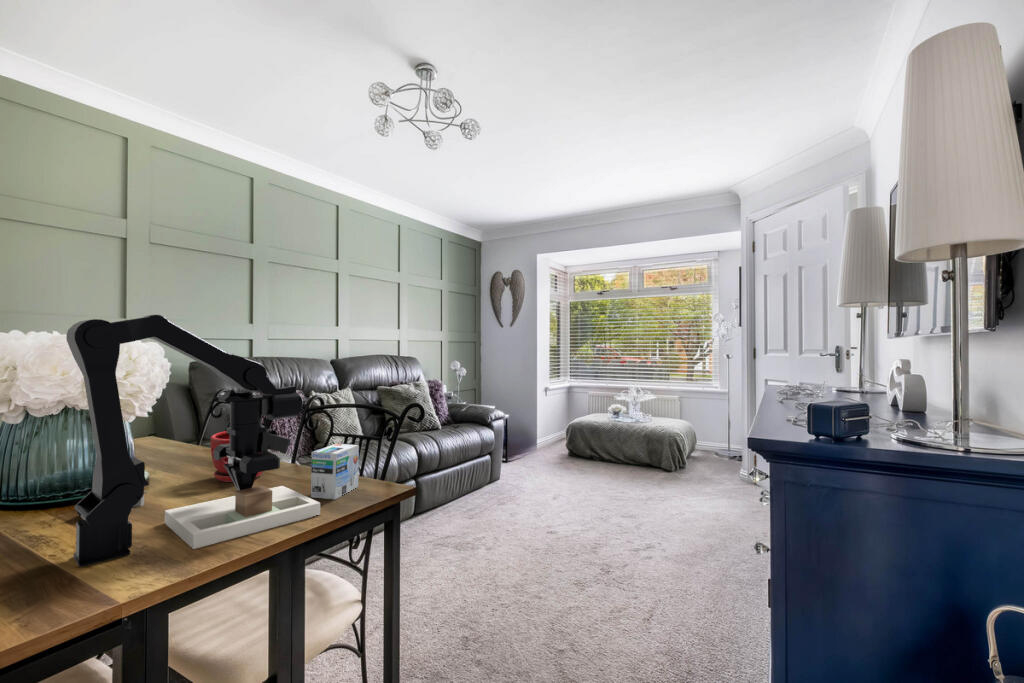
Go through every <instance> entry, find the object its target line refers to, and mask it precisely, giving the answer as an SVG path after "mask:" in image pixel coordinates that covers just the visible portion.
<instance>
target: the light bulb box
mask: <svg viewBox="0 0 1024 683" xmlns="http://www.w3.org/2000/svg"><path fill="white" fill-rule="evenodd" d="M359 451H360V445H359V444H347V443H333V444H331V445H328V446H326V447H323V448H320V449H317V450H314V451H311V462H310V464H311V466H310V467H311V470H310V471H311V472H310V478H311V479H310V480H311V481H310V483H311V484H310V498H312V499H313V498H315V499H327V500H337V499H339V498H341V497H343V496H344V494H345V495H346V493H347V494H348V492H349V493H350V492H352V491H354V490H356V489H358V488H359V458H360V457H359V456H360V452H359ZM357 487H358V488H357ZM355 488H356V489H355ZM353 489H354V490H353ZM351 490H352V491H351ZM342 495H343V496H342Z"/></svg>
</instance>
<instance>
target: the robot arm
mask: <svg viewBox="0 0 1024 683" xmlns="http://www.w3.org/2000/svg"><path fill="white" fill-rule="evenodd" d="M65 337H66V338H65V339H66V342H67V344H68V347H69V349H70V352H71V355H72V357H73V359H74V361H75V363H76V365H77V367H78V369H79V370H80V372H81V374H82V376H83V381H84V382H83V383H84V387H85V394H86V399H87V405H88V406H87V407H88V412H89V417H90V423H91V430H92V431H91V432H92V435H93V441H94V448H95V454H96V456H95V457H96V459H95V462H94V468H93V471H92V472H93V473H92V486H91V491H89V493H87V494H86V495H85V496H84V497H83V498H81V500H79V501H78V502H77V503H76V504H75V506H74V510H75V511H76V513H77V516H79V517H80V518H81V519H82V520H81V519H80V520H77V521H76V522H75V523H76V524H75V526H76V533H75V536H76V537H75V552H74V553H73V558H74V560H75V562H76V564H77V567H79V568H84V567H86V566H90V565H95V564H99V563H103V562H107V561H111V560H115V559H118V558H123V557H126V556H130V555H131V550H130V549H131V548H132V546H133V544H132V543H133V523H132V522H131V521H130V520H129V516H130V513H131V511H133V508H134V507H133V506H134V505H136V504H137V503H138V502H139V500H140V499H141V498H142V497H143V496H145V493H144V492H145V486H149V485H150V484H149V482H148V481H147V479H146V475H145V474H146V473H145V472H146V470H145V469H146V466H145V462H144V461H142V460H141V459H138V458H137V457H135V456H134V457H131V455H130V453H129V449H128V443H127V436H126V431H125V425H124V424H125V422H124V418H123V413H122V412H123V411H122V405H121V401H120V400H121V399H120V395H119V394H120V392H119V386H118V380H117V374H116V373H117V366H118V363H119V357H120V349H121V344H127V343H132V342H135V341H136V342H137V341H141V340H144V339H145V340H146V339H153V340H154V341H157V342H158V343H160V344H162V345H165V346H166V347H168V348H170V349H172V350H174V351H176V352H178V353H180V354H182V355H184V356H186V357H187V358H190V359H192V360H194V361H196V362H198V363H199V364H202V365H203V366H205V367H208V369H210V370H211V371H213V372H214V373H215V374H216V375H217V377H219V379H221V380H222V381H224V382H225V383H227V384H228V385H230V387H233V388H237V389H242V390H248V391H245V392H236V391H235V390H234V389H230V388H229V389H227V390H226V391H225V392H224V394H222V395H221V396H220V397H218V399H217V401H219V402H223V403H227V404H228V403H229V427H226V433H229V434H230V443H229V444H221V445H218V446H217V447H216V448H215V449H214V459H216V460H221V459H222V457H228V464H224V467H225V468H226V470H227V472H228V473H229V475H230V477H231V479H232V481H233V482H232V483H233V485H234V486H235V489H236V491H238V490H243V489H248V488H253V487H254V483H255V480H256V475H257V473H258V472H263V473H264V472H267V471H273V470H279V469H280V468H281V465H280V464H281V458H280V457H279V456H277V455H276V454H274V453H272V452H269V450H270V451H275V452H279V453H280V454H284V455H285V454H287V452H288V449H289V446H290V443H291V442H292V439H291V438H290V437H289V438H288V437H284V436H282V435H278V431H277V429H276V430H275V429H272V428H266V426H264V425H263V416H265V418H267V420H269V421H270V420H271V421H272V420H279V419H287V418H296V417H298V416H299V415H300V413H301V410H302V401H301V398H300V396H299V394H298V392H297V387H296V386H292V385H289V386H283V387H276V386H275V385H274V384H273V382H272V381H271V380H270V379H269V377H268V376H267V375H268V373H267V369H266V367H265V366H264V365H263V364H262V363H261V362H258V361H255V360H251V359H250V358H246V357H243V356H240V355H236V354H233V353H230V352H227V351H225V350H223V349H221V348H219V347H218V346H215V345H214V344H212V343H210V342H208V341H206V340H205V339H202V337H199V336H198V335H196V334H194V333H192V332H191V331H189V330H187V329H184V328H183V327H181V326H179V325H177V324H175V323H173V322H171V321H170V320H169V319H168V318H167V317H165V316H163V315H161V314H149V315H148V314H147V315H145V316H142V317H139V318H138V317H137V318H131V319H126V320H118V321H114V322H113V321H112V322H110V321H109V320H108V321H107V320H104V319H97V318H95V319H94V318H93V319H86V320H81V321H80V320H79V321H78V322H76V323H74V324H72V326H70V328H69V329H68V330H67V332H66V336H65ZM252 392H253V393H259V394H262V395H254V394H253V393H252ZM132 507H133V508H132Z"/></svg>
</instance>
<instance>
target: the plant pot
mask: <svg viewBox="0 0 1024 683" xmlns="http://www.w3.org/2000/svg"><path fill="white" fill-rule="evenodd" d="M229 443H230V434H229V433H226V431H225V430H224V431H221V432H217V433H215V434H213V435H211V437H210V451H211V452H210V453H211V460H212V463H213V465H214V467H215V469H216V471H214V473H213V476H214V478H215V479H216V480H217V481H221V482H224V483H226V482H227V483H233V481H232V479H231V477H230V475H229V473H228V472H227V470H226V468H225V467H224V464H228V457H222V459H221V460H216V459H214V449H215V448H216V447H217V446H218V445H221V444H229ZM263 473H264V471H263V472H258V473H257V475H256V478H258V477H260V476H261V475H262V474H263ZM256 478H255V479H256Z"/></svg>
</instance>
